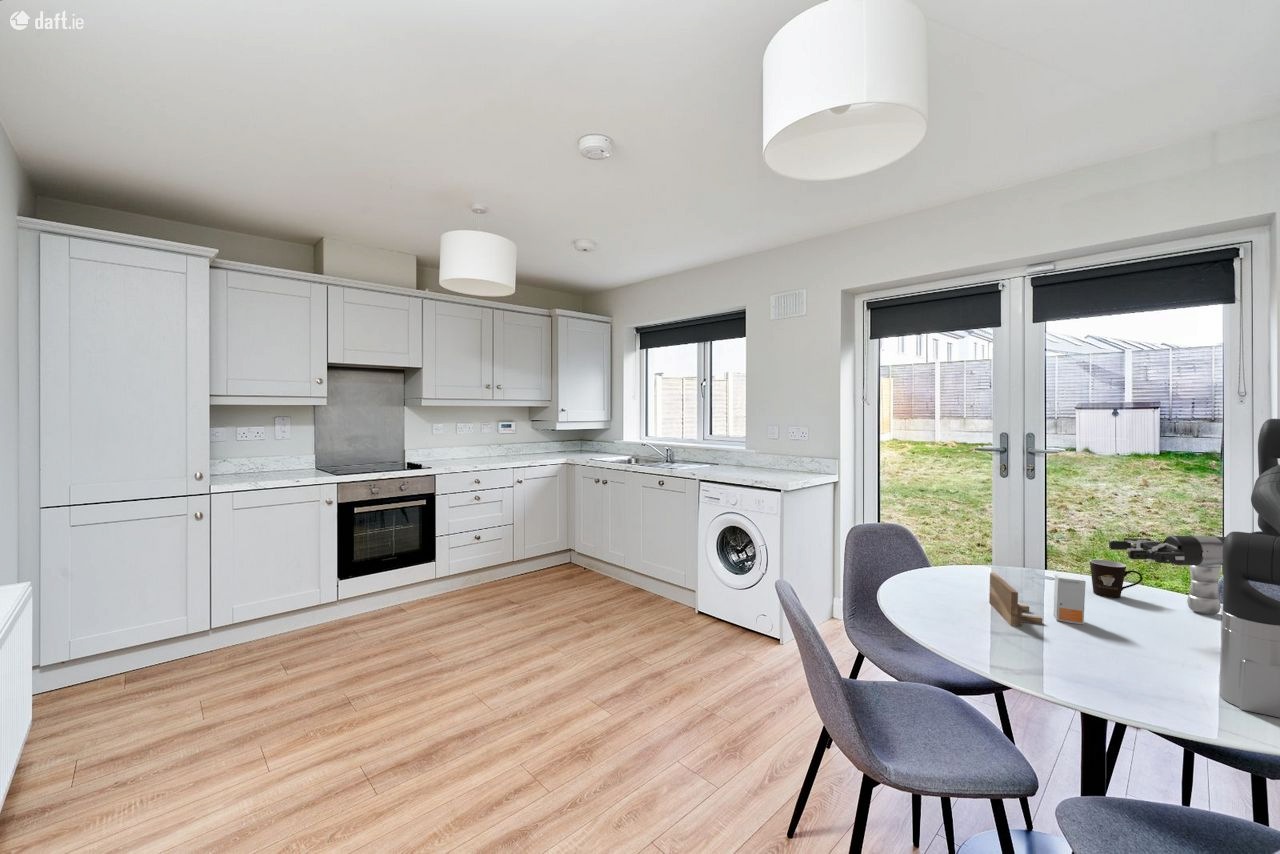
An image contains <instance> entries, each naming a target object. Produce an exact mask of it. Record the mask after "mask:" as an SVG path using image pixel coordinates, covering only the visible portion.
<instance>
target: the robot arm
mask: <svg viewBox="0 0 1280 854" xmlns="http://www.w3.org/2000/svg"><path fill="white" fill-rule="evenodd" d="M1279 459H1280V418H1269V419H1267V420H1265V421H1264V422H1263V423H1262V425H1261V428H1260V430H1259V433H1258V437H1257V462H1258V463H1257V464H1258V477H1257V479H1256V480H1255V483H1254V486H1253V488H1252V489H1253V490H1252V492H1251V496H1250V502H1251V506H1252V507H1253V509H1254V510H1255V512H1256V513H1257V526H1258V528H1259V529H1260V531H1252V532H1245V531H1231V532H1229V533H1228V534H1227V535H1226V536H1208V535H1169V536H1167V537H1165V539H1164V540H1163V541H1162V542H1161V541H1159V540H1152V538H1138V537H1137V538H1136V537H1135V538H1134V537H1131V538H1130V537H1129V538H1128V537H1125V538H1123V540H1110V541H1109V542H1108V548H1109V549H1110V550H1114V551H1115V550H1116V551H1117V550H1121V551H1126V550H1127V557H1128V559H1130V560H1148V561H1150V562H1154V561H1155V562H1154V563H1156V564H1173V565H1174V566H1189V565H1193V566H1211V565H1221V566H1222V573H1223V577H1222V578H1223V591H1222V592H1223V593H1222V594H1223V595H1222V597H1223V598H1222V599H1223V600H1222V616H1221V617H1222V621H1221V642H1220V643H1221V645H1220V646H1221V647H1220V669H1219V670H1220V671H1219V674H1220V675H1219V696H1220V698H1222V700H1224V701H1226V702H1227V703H1229V704H1232V705H1234V706H1236V707H1238V708H1239V709H1240V710H1243V711H1247V712H1251V713H1257V714H1261V715H1265V716H1271V717H1277V718H1280V600H1277V599H1275V598H1273V597H1271V596H1268V595H1266V594H1265V593H1263V592H1261V591H1259V590H1258V589H1257V588H1255V587H1253V586H1252V584H1251V583H1250V582H1255V583H1261V584H1267V585H1272V586H1279V587H1280V464H1279ZM1132 544H1133V545H1132Z"/></svg>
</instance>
